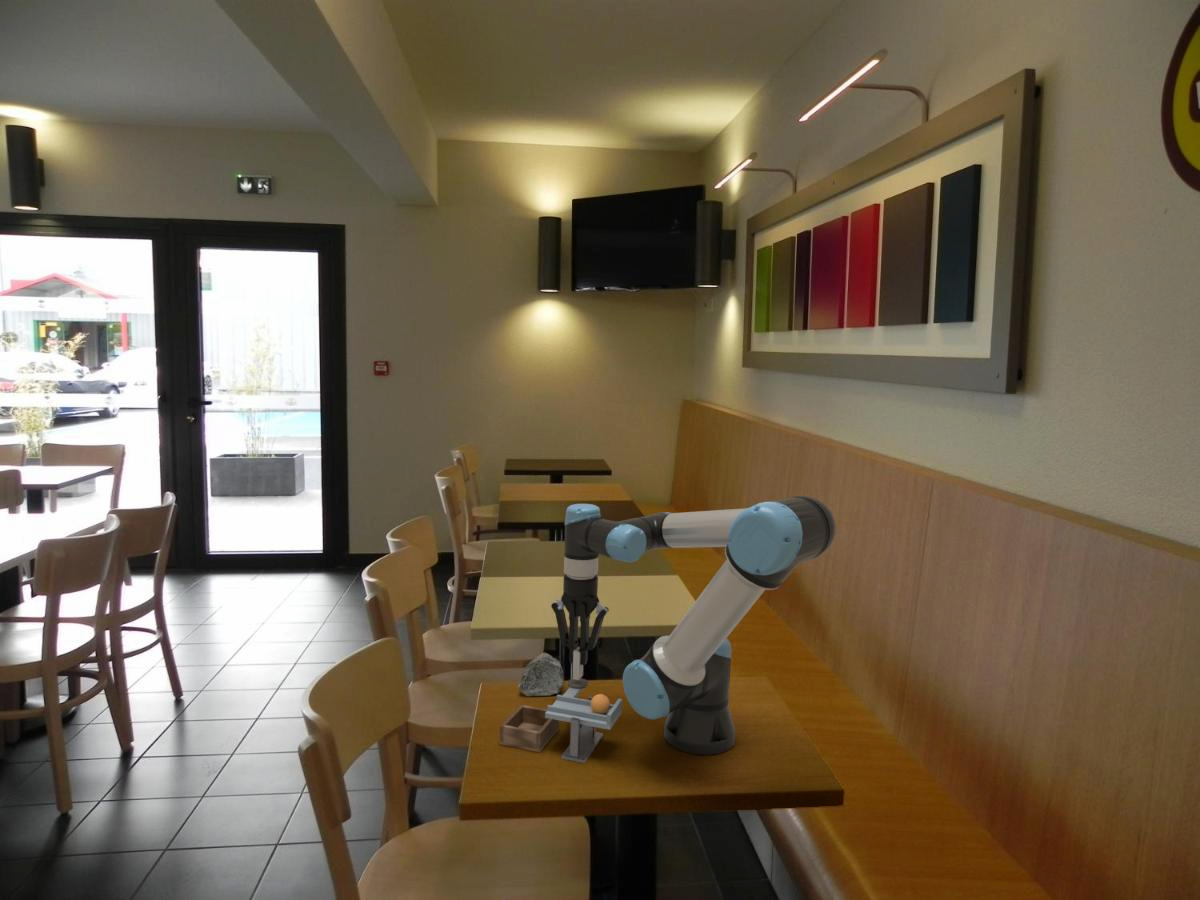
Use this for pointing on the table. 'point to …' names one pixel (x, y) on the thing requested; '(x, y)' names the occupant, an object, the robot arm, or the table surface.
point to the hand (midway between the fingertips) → (577, 677)
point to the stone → (542, 676)
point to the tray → (528, 729)
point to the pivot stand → (581, 741)
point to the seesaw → (582, 708)
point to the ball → (600, 704)
